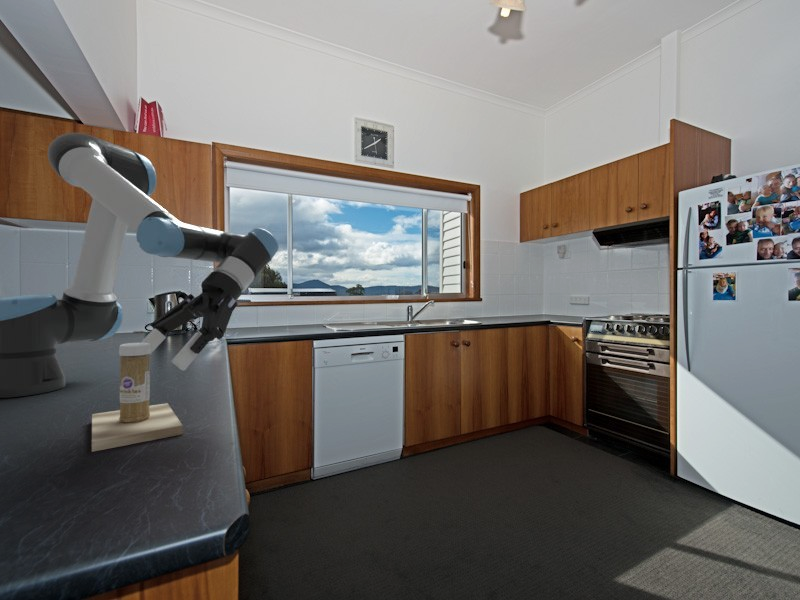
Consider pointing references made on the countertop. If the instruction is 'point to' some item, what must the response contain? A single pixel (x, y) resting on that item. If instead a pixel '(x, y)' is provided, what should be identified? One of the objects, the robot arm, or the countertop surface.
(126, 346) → the sprinkles bottle
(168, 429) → the birch board
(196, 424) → the countertop surface
